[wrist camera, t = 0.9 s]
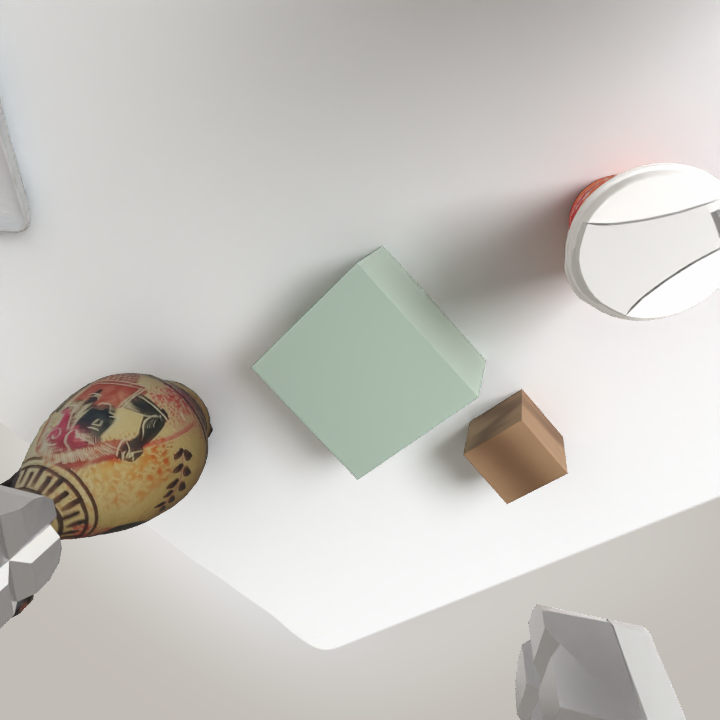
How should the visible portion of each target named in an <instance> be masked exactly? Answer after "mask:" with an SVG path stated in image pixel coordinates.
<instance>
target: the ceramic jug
mask: <svg viewBox="0 0 720 720" xmlns="http://www.w3.org/2000/svg"><path fill="white" fill-rule="evenodd" d="M212 430H213V429H212V427H211V424H210V417H209V413H208V410H207V408H206V406H205V404H204V403H203V401H202V400H201V399H200V397H199V396H198V395H197V394H196V393H195V392H194V391H192V390H191V389H189V388H187V387H186V386H184V385H182V384H181V383H177V382H173V381H164V380H162V379H159V378H157V377H154V376H152V375H146V374H135V373H126V374H116V375H110V376H107V377H103V378H101V379H99V380H96V381H94V382H92V383H90V384H88V385H86V386H85V387H83V388H81V389H80V390H78V391H77V392H76V393H74V394H73V395H71V396H70V397H69V398H68V399H67V400H66V401H64V402H63V403H62V404H61V405H60V406H59V407H58V408H57V409H56V410H55V411H54V412H53V413H52V414H51V415H50V416H49V418H48V419H47V420H46V421H45V422H44V424H43V425H42V426H41V427H40V429H39V432H38V434H37V435H36V437H35V439H34V440H33V442H32V444H31V445H30V448H29V450H28V452H27V454H26V457H25V459H24V461H23V463H22V466H21V468H20V469H19V471H18V472H17V473H15V474H14V475H13V476H12V477H11V478H10V479H9V480H7V481H5V482H4V483H2V484H0V485H2V486H6V487H10V488H14V489H18V490H22V491H26V492H30V493H34V494H38V495H42V496H45V497H47V498H49V499H51V500H53V501H54V505H55V510H56V514H57V517H56V518H55V520H54V521H53V522H52V524H51V526H52V527H53V529H54V530H55V531H56V533H57V534H58V535H59V537H60V540H62V539H77V538H84V537H92V536H96V535H101V534H108V533H113V532H118V531H122V530H126V529H129V528H132V527H135V526H138V525H140V524H142V523H145V522H147V521H149V520H151V519H153V518H154V517H156V516H158V515H160V514H161V513H163V512H165V511H167V510H168V509H170V508H172V507H173V506H174V505H176V504H177V503H178V502H179V501H181V500H182V499H183V498H184V497H185V496H186V495H187V494H188V493H189V491H190V490H191V489H192V488H193V486H194V485H195V484H196V483H197V481H198V480H199V477H200V475H201V473H202V471H203V469H204V466H205V464H206V459H207V454H208V437H209V436H210V434H211V432H212ZM33 595H34V594H33ZM33 595H31V596H29V597H27V598H25V599H22V600H20V601H18V602H17V605H16V609H15V613H14V616H16V615H18V614H19V613H21V611H22V610H23V609H24V608H25V607H26V606H27V605H28V604H29V603H30V602H31V601H32V600H33ZM14 616H13V617H14ZM11 618H12V617H11Z"/></svg>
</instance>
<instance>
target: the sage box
mask: <svg viewBox="0 0 720 720" xmlns="http://www.w3.org/2000/svg"><path fill="white" fill-rule="evenodd" d="M485 362H486V360H485V359H484V358H483V357H482V356H481V354H480V353H479V352H478V351H477V350H476V349H475V348H474V347H473V346H472V344H471V343H470V342H469V341H468V340H467V339H466V338H465V337H464V335H463V334H462V333H461V332H460V331H459V330H458V329H457V328H456V327H455V325H454V324H453V323H452V322H451V321H450V320H449V319H448V318H447V316H446V315H445V314H444V313H443V312H442V311H441V310H440V309H439V308H438V306H437V305H436V304H435V303H434V302H433V301H432V300H431V299H430V297H429V296H428V295H427V294H426V293H425V292H424V291H423V290H422V289H421V287H420V286H419V285H418V284H417V283H416V282H415V281H414V280H413V279H412V277H411V276H410V275H409V274H408V273H407V272H406V271H405V270H404V268H403V267H402V266H401V265H400V264H399V263H398V262H397V261H396V260H395V258H394V257H393V256H392V255H391V254H390V253H389V252H388V251H387V249H386V248H385V247H384V246H382V247H380V248H379V249H377V250H376V251H374V252H373V253H371V254H370V255H368V256H367V257H365V258H364V259H362V260H361V261H359V262H357V263H356V264H355V265H354V266H353V267H352V268H351V269H350V270H349V271H348V272H347V273H346V274H345V275H344V276H343V277H342V278H341V279H340V280H339V281H338V282H337V283H336V284H335V285H334V286H333V287H332V288H331V289H330V290H329V291H328V292H327V293H326V294H325V295H324V296H323V297H322V298H321V299H320V300H319V301H318V302H317V303H316V304H315V305H314V306H313V307H312V308H311V309H310V310H309V311H308V312H307V313H306V314H305V315H304V316H303V317H301V318H300V319H299V320H298V321H297V322H296V323H295V324H294V325H293V326H292V327H291V328H290V329H289V330H288V331H287V332H286V333H285V334H284V335H283V336H282V337H281V338H280V339H279V340H278V341H277V342H276V343H275V344H274V345H273V346H272V347H271V348H270V349H269V350H268V351H267V352H266V353H265V354H264V355H263V356H262V357H261V358H260V359H259V360H258V361H257V362H256V363H255V364H254V365H253V366H252V367H251V368H252V369H253V370H254V371H255V372H256V373H257V374H258V375H259V376H260V377H261V378H262V380H263V381H264V382H265V383H266V384H267V385H268V386H269V387H270V388H271V389H272V390H273V391H274V392H275V393H276V394H277V395H278V396H279V397H280V399H281V400H282V401H283V402H284V403H285V404H286V405H287V406H288V407H289V408H290V409H291V410H292V411H293V412H294V413H295V414H296V415H297V416H298V418H299V419H300V420H301V421H302V422H303V423H304V424H305V425H306V426H307V427H308V428H309V429H310V430H311V431H312V432H313V433H314V434H315V435H316V437H317V438H318V439H319V440H320V441H321V442H322V443H323V444H324V445H325V446H326V447H327V448H328V449H329V450H330V451H331V452H332V453H333V454H334V456H335V457H336V458H337V459H338V460H339V461H340V462H341V463H342V464H343V465H344V466H345V467H346V468H347V469H348V470H349V471H350V472H351V473H352V475H353V476H354V477H355V478H356V479H357V480H358V479H360V478H361V477H362V476H364V475H365V474H367V473H368V472H370V471H371V470H373V469H374V468H376V467H377V466H379V465H380V464H382V463H383V462H384V461H386V460H387V459H389V458H390V457H392V456H393V455H395V454H396V453H398V452H399V451H401V450H402V449H403V448H405V447H406V446H408V445H409V444H411V443H412V442H414V441H415V440H417V439H418V438H420V437H421V436H423V435H424V434H425V433H427V432H428V431H430V430H431V429H433V428H434V427H436V426H437V425H439V424H440V423H442V422H443V421H444V420H446V419H447V418H449V417H450V416H452V415H453V414H455V413H456V412H458V411H459V410H461V409H462V408H464V407H465V406H466V405H468V404H469V403H471V402H472V401H474V400H475V399H477V398H478V397H479V392H480V387H481V382H482V377H483V372H484V367H485Z"/></svg>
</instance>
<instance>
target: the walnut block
mask: <svg viewBox="0 0 720 720" xmlns="http://www.w3.org/2000/svg"><path fill="white" fill-rule="evenodd" d="M463 455H464V456H465V457H466V458H467V459H468V460H469V461H470V463H471V464H472V465H473V466H474V467H475V468H476V469H477V470H478V472H479V473H480V474H481V475H482V476H483V477H484V478H485V480H486V481H487V482H488V483H489V484H490V485H491V486H492V488H493V489H494V490H495V491H496V492H497V493H498V494H499V495H500V497H501V498H502V499H503V500H504V501H505V502H506V503H507V504H508V503H510V502H512V501H514V500H516V499H518V498H520V497H522V496H524V495H526V494H528V493H530V492H532V491H534V490H536V489H538V488H540V487H542V486H544V485H546V484H548V483H550V482H552V481H554V480H556V479H558V478H560V477H562V476H564V475H566V474H568V473H567V466H566V458H565V450H564V442H563V437H562V436H561V434H560V433H559V432H558V431H557V430H556V429H555V427H554V426H553V425H552V424H551V423H550V421H549V420H548V419H547V418H546V417H545V416H544V414H543V413H542V412H541V411H540V410H539V409H538V407H537V406H536V405H535V404H534V403H533V401H532V400H531V399H530V398H529V397H528V396H527V394H526V393H525V392H524V391H523V390H520V391H518V392H517V393H515V394H514V395H512V396H510V397H509V398H507V399H506V400H504V401H502V402H501V403H499V404H498V405H496V406H494V407H493V408H491V409H490V410H488V411H486V412H485V413H483V414H482V415H480V416H478V417H477V418H475V419H474V420H472V421H470V425H469V430H468V435H467V439H466V444H465V449H464V454H463Z"/></svg>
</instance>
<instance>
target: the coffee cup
mask: <svg viewBox="0 0 720 720" xmlns="http://www.w3.org/2000/svg"><path fill="white" fill-rule="evenodd" d="M564 271H565V274H566V277H567V280H568V282H569V284H570V286H571V287H572V289H573V291H574V292H575V293H576V295H577V296H578V297H579V298H580V299H581V300H583V301H585V302H586V303H588V304H590V305H591V306H593V307H595V308H596V309H598V310H599V311H601V312H603V313H606V314H608V315H610V316H614V317H617V318H621V319H627V320H636V321H637V320H654V319H660V318H665V317H668V316H672V315H675V314H678V313H680V312H682V311H685V310H687V309H689V308H691V307H693V306H694V305H696V304H698V303H700V302H701V301H703V300H704V299H705V298H706V297H708V296H709V295H710V294H712V293H713V292H714V290H715V289H716V288H717V287H718V286H719V285H720V181H719V180H718V179H717V178H715V177H714V176H712V175H710V174H709V173H707V172H706V171H703V170H701V169H698V168H696V167H693V166H689V165H684V164H679V163H655V164H647V165H644V166H640V167H636V168H633V169H630V170H628V171H625V172H623V173H620V174H617V175H612V176H608V177H604V178H601V179H599V180H597V181H595V182H593V183H592V184H590V185H589V186H587V187H586V188H585V189H584V190H583V191H582V192H581V193H580V194H579V195H578V197H577V198H576V200H575V202H574V204H573V206H572V208H571V211H570V216H569V231H568V234H567V240H566V245H565V264H564Z"/></svg>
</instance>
